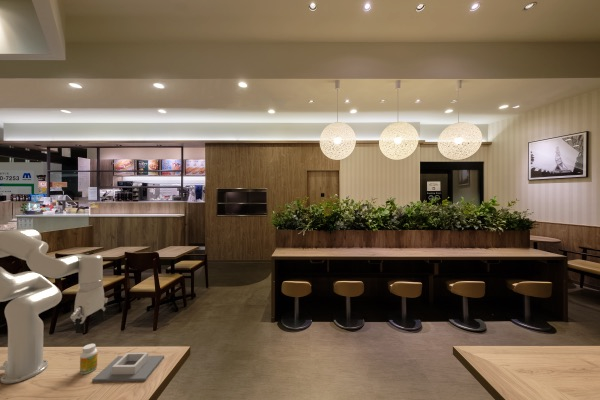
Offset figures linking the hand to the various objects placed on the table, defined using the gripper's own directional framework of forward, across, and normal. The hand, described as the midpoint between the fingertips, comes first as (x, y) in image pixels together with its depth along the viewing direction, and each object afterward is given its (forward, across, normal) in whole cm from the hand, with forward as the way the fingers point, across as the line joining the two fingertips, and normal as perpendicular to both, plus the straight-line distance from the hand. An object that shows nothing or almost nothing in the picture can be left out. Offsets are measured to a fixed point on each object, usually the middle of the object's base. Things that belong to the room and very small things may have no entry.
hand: (90, 326), depth 99 cm
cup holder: (+18, 0, +16) cm, 24 cm away
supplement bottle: (+18, 0, -1) cm, 18 cm away
